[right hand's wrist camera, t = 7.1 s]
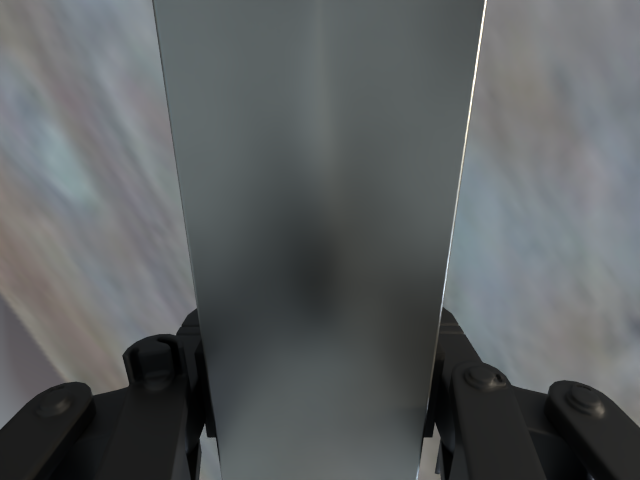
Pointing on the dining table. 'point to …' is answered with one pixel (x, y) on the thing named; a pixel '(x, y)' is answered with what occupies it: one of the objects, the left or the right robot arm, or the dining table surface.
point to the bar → (319, 218)
